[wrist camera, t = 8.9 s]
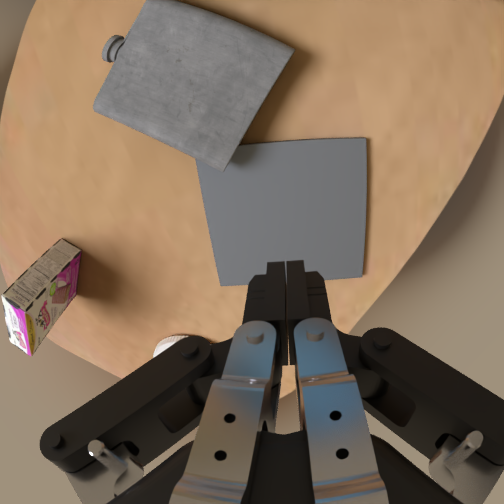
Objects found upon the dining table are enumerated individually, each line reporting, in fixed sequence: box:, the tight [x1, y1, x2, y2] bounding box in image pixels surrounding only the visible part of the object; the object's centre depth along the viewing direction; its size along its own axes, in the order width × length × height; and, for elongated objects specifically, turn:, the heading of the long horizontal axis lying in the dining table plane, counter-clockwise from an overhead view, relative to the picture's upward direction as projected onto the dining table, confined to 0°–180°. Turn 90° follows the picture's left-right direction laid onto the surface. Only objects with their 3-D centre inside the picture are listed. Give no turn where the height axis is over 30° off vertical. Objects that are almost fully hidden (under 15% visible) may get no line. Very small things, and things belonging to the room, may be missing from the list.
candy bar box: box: [2, 239, 82, 356], centre depth 38 cm, size 11×5×16 cm, turn 153°
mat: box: [195, 138, 367, 286], centre depth 37 cm, size 19×20×1 cm
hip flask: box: [93, 0, 295, 172], centre depth 28 cm, size 16×4×20 cm
